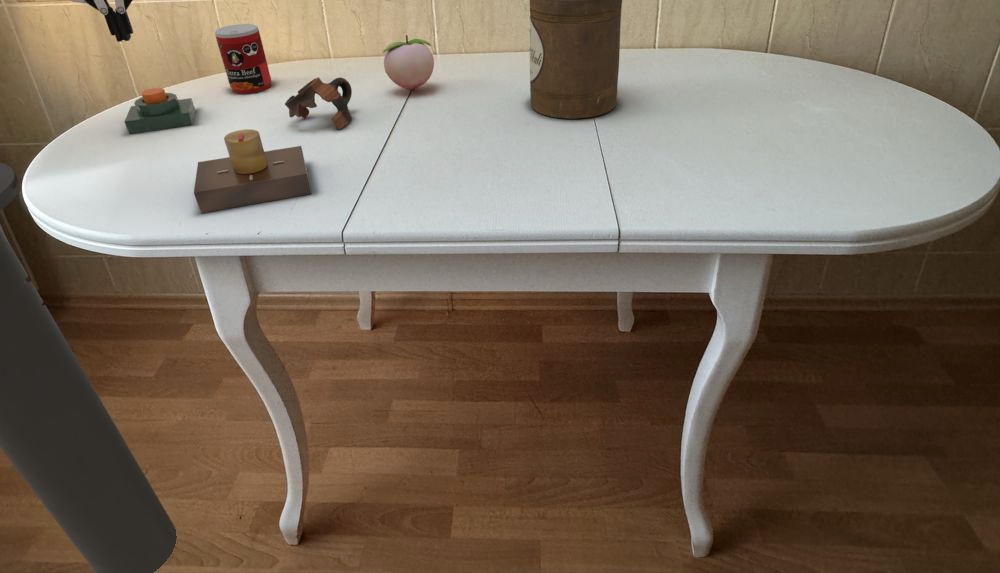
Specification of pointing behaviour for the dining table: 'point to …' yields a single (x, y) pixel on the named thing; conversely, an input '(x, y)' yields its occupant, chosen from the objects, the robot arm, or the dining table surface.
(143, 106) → the button box
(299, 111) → the brown angular looped piece
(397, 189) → the dining table surface
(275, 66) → the dining table surface
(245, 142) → the lock knob
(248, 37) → the canned food
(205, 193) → the plate
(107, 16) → the robot arm
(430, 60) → the decorative fruit
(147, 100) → the button
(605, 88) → the wooden container
